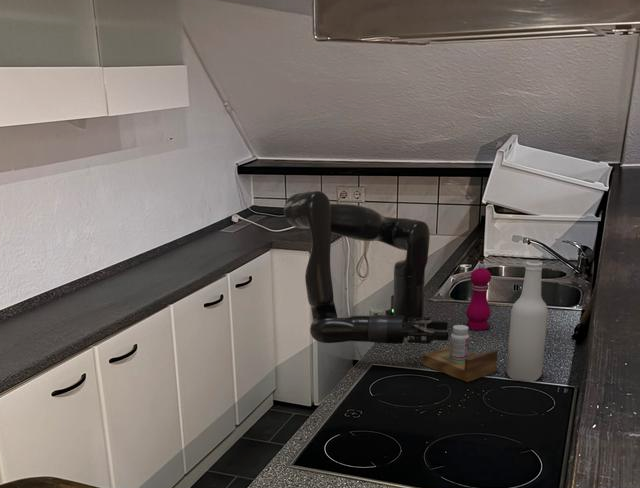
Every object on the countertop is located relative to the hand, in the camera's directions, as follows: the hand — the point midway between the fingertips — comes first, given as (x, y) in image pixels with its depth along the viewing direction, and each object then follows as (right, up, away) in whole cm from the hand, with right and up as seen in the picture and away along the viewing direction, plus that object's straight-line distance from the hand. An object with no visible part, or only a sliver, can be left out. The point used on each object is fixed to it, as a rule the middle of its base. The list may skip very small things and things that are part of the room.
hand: (448, 330), depth 200 cm
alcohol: (+19, -12, -3) cm, 23 cm away
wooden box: (+4, -10, +3) cm, 11 cm away
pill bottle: (+3, -7, +2) cm, 8 cm away
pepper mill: (+17, +3, +34) cm, 38 cm away
